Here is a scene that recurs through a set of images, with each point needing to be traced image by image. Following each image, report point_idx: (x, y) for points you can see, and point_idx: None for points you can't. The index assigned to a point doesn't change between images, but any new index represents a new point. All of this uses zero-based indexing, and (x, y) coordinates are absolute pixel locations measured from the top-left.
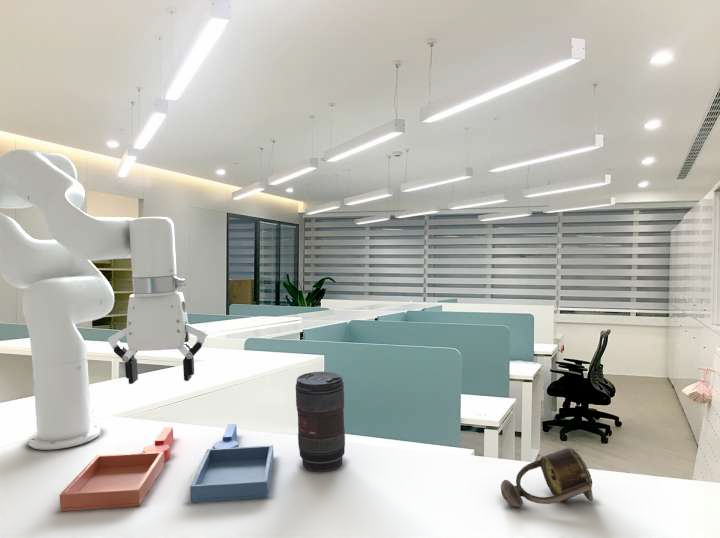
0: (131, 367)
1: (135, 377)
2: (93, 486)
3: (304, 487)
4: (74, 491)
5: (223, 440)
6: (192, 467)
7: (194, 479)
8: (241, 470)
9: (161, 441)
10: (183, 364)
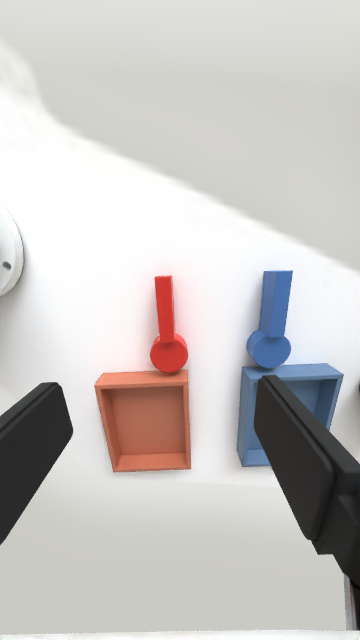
0: (20, 512)
1: (57, 420)
2: (126, 422)
3: (346, 430)
4: (116, 444)
5: (267, 335)
6: (223, 376)
7: (244, 454)
8: None
9: (171, 341)
10: (292, 506)
